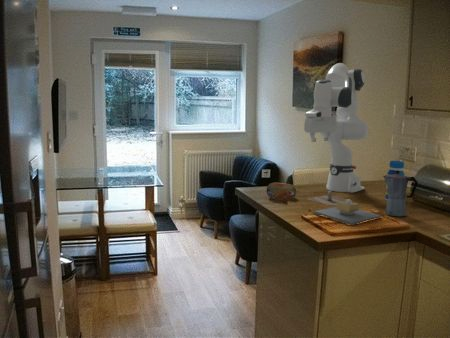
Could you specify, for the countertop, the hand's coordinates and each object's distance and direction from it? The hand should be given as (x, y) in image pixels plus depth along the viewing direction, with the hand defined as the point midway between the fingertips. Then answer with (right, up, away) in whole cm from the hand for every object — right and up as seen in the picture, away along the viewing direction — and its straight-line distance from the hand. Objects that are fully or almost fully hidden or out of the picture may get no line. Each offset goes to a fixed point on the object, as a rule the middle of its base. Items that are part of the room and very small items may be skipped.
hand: (320, 141), depth 219 cm
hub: (+6, -34, -27) cm, 44 cm away
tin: (-19, -29, +1) cm, 35 cm away
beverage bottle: (+39, -30, +6) cm, 49 cm away
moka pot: (+30, -34, -22) cm, 50 cm away
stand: (+4, -30, -4) cm, 31 cm away
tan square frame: (+6, -31, -27) cm, 42 cm away
